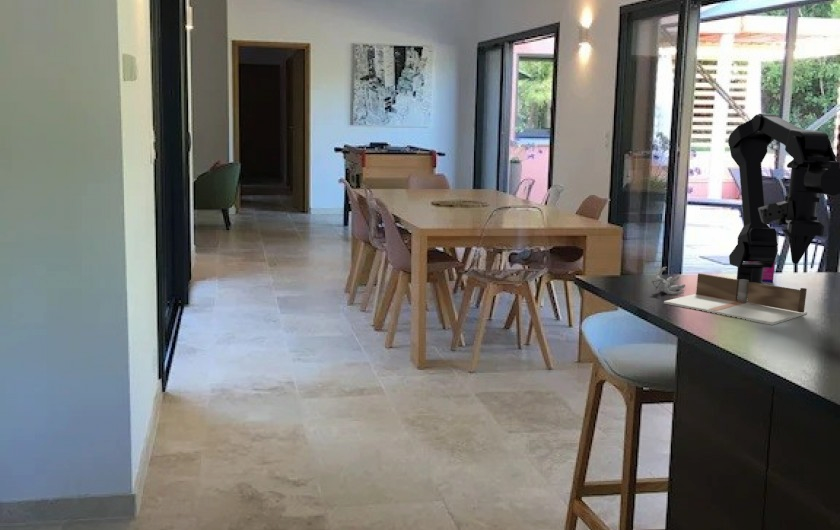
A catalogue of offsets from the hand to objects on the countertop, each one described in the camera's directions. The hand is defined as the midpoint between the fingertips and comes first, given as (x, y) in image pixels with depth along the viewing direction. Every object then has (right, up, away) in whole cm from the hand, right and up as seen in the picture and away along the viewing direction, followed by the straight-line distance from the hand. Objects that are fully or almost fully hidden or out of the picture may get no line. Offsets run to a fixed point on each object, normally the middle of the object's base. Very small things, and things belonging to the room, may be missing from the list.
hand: (795, 263), depth 189 cm
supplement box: (+6, -4, +37) cm, 37 cm away
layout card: (-13, -10, -1) cm, 16 cm away
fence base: (-14, -8, +7) cm, 17 cm away
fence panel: (-5, -9, -2) cm, 11 cm away
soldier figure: (-23, -7, +15) cm, 29 cm away
